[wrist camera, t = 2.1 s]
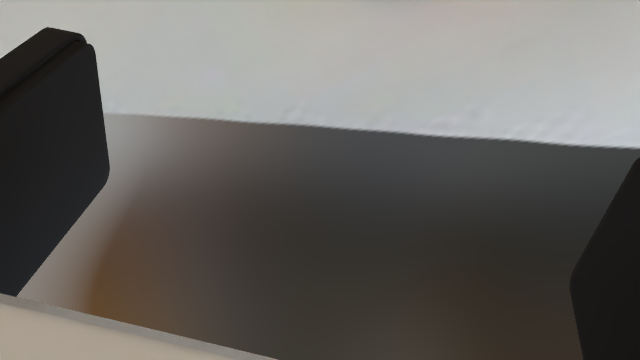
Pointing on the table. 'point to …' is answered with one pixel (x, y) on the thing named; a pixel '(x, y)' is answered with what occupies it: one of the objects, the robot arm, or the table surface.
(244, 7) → the table surface
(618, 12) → the table surface
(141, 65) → the table surface
